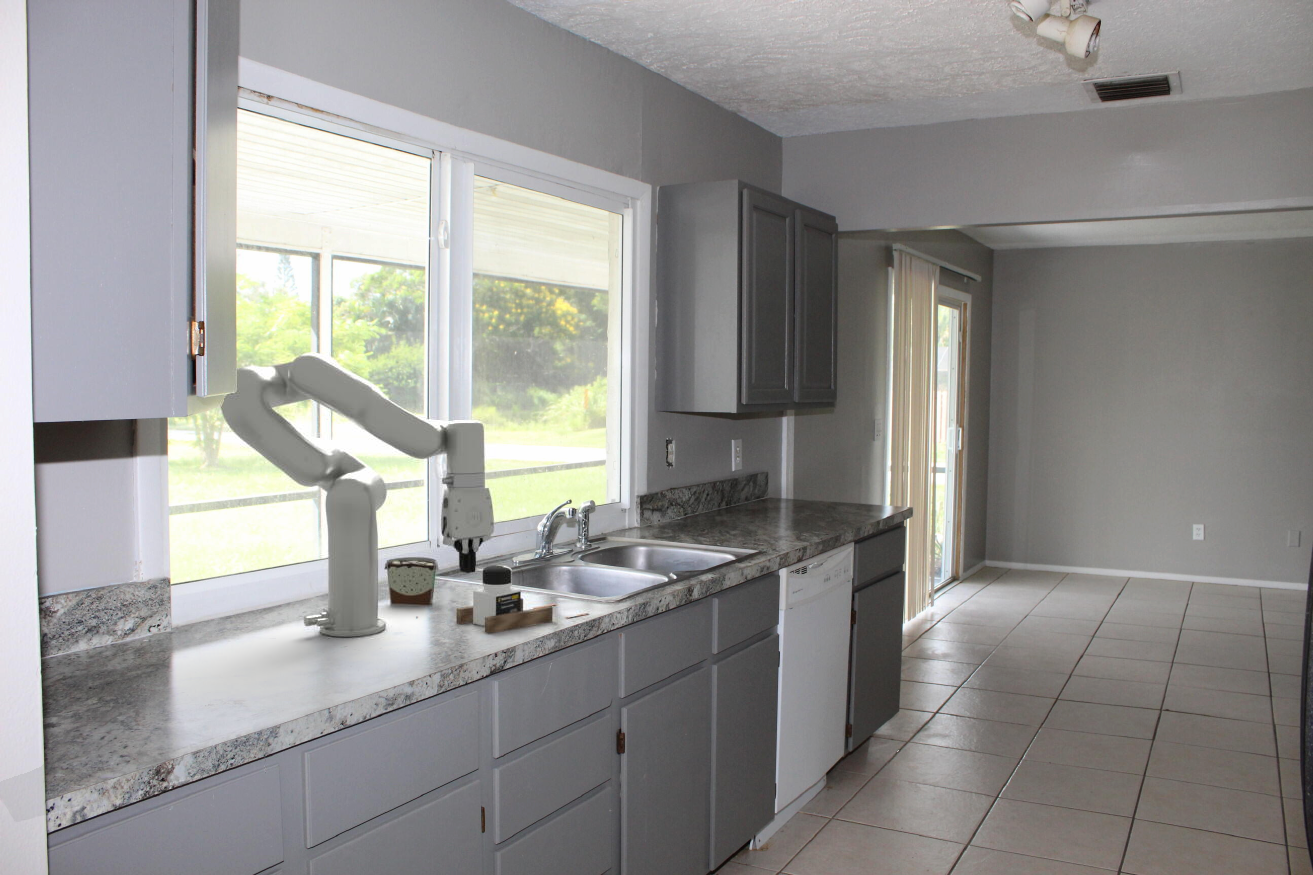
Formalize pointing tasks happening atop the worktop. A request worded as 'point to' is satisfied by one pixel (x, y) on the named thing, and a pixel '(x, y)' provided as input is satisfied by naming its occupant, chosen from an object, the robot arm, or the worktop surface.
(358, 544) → the robot arm
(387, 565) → the food container
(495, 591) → the medicine bottle
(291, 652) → the worktop surface
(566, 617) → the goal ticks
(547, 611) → the chute
